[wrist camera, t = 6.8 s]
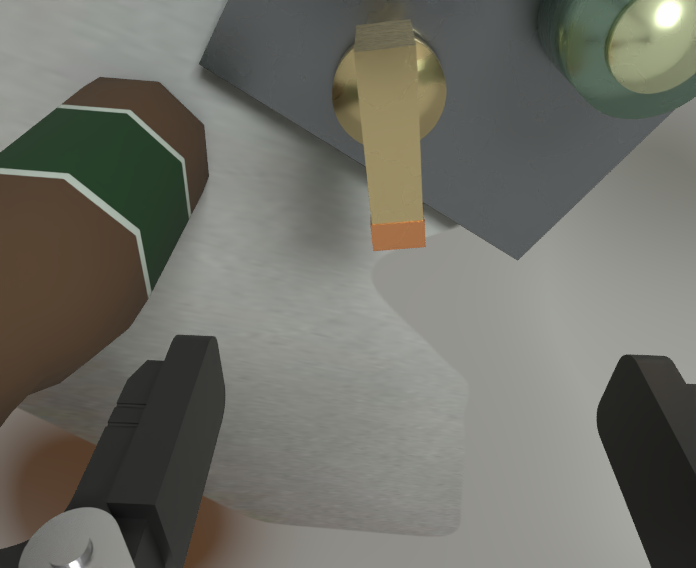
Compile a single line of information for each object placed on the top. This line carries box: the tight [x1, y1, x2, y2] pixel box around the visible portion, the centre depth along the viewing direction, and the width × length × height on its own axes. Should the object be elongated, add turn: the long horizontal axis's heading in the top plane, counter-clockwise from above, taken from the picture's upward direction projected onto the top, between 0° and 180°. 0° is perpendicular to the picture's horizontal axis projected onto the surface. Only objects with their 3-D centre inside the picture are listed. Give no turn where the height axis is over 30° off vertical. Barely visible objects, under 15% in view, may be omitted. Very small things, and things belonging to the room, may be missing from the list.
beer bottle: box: [0, 77, 209, 427], centre depth 20 cm, size 8×8×24 cm
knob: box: [332, 19, 446, 251], centre depth 23 cm, size 8×5×8 cm
